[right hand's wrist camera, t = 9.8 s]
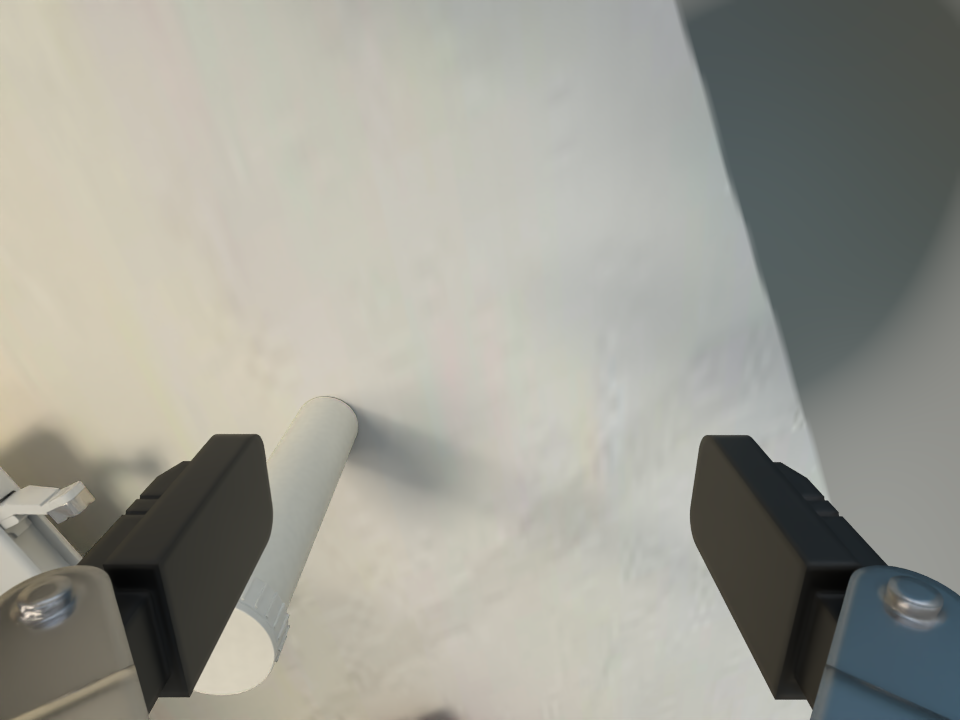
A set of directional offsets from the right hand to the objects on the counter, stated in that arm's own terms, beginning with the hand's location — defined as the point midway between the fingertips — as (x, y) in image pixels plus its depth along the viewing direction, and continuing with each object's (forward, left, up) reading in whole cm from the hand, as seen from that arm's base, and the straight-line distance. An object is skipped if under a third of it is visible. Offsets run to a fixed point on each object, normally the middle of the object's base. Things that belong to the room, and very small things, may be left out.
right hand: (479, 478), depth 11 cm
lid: (-7, -16, -9) cm, 19 cm away
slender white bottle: (-7, -16, -28) cm, 33 cm away
